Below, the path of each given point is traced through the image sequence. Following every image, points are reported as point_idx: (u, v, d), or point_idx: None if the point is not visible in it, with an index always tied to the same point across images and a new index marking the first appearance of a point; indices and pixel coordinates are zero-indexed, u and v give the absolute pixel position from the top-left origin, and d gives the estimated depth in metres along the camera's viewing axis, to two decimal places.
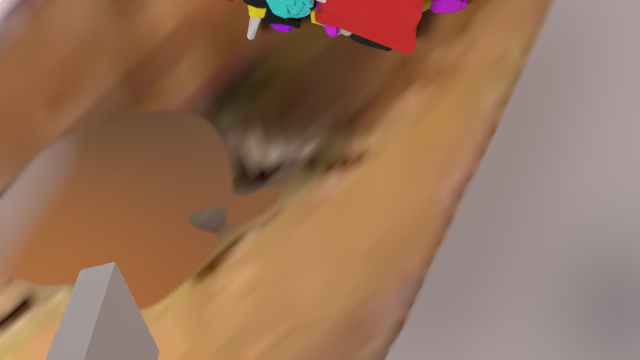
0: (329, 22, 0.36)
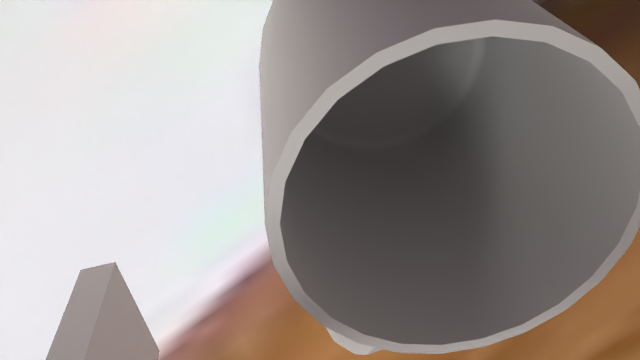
0: None
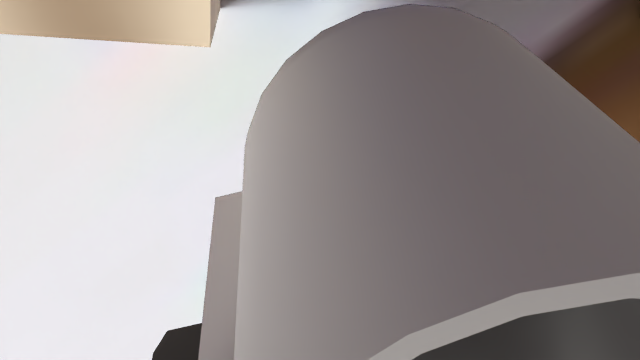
0: None
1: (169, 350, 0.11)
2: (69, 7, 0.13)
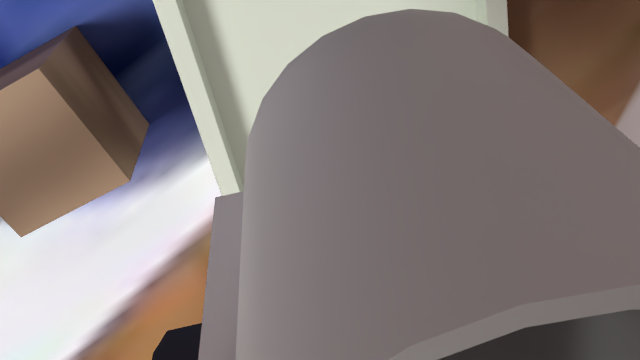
0: None
1: (169, 350, 0.11)
2: None
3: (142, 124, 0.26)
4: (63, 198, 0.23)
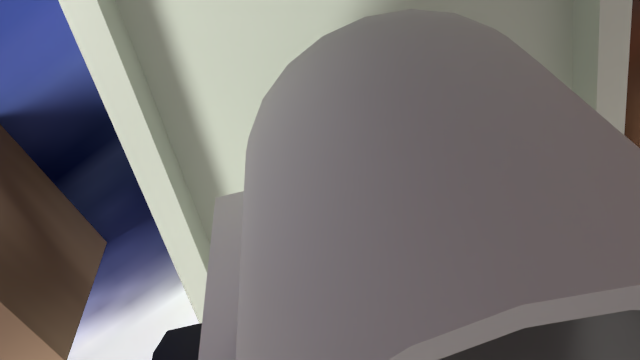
0: None
1: (168, 350, 0.11)
2: None
3: (95, 247, 0.18)
4: None
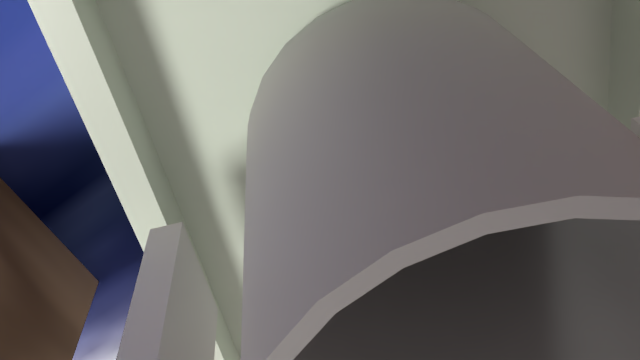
0: None
1: None
2: None
3: (86, 288, 0.17)
4: None
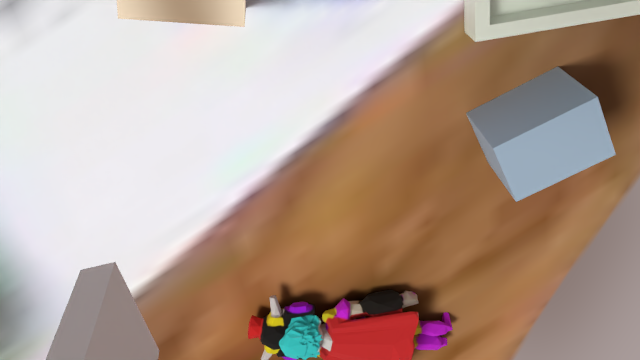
0: None
1: None
2: (181, 8, 0.29)
3: None
4: None
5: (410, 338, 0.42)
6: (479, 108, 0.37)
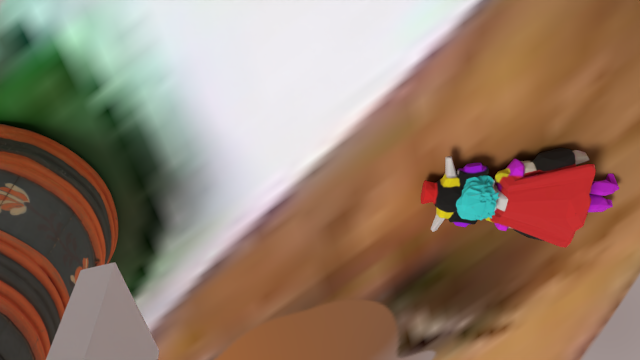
0: (504, 224, 0.44)
1: None
2: None
3: None
4: None
5: (587, 191, 0.42)
6: None
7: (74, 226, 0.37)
